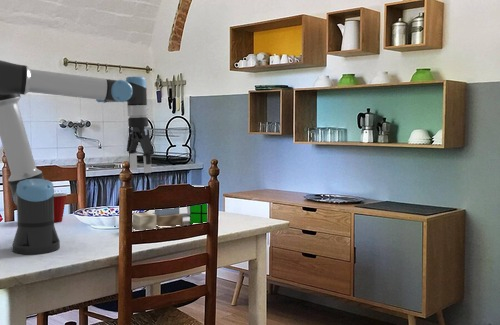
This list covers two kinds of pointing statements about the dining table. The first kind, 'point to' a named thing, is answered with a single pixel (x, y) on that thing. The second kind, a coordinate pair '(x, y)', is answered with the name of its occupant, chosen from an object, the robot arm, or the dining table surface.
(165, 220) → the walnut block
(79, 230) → the dining table surface
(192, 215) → the puzzle cube
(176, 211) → the slate block
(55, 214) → the plastic cup
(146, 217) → the maple block
